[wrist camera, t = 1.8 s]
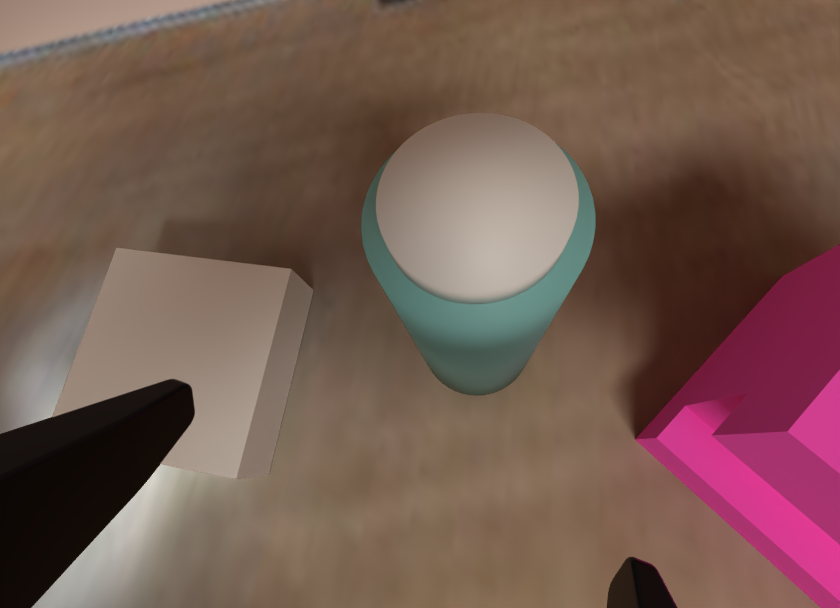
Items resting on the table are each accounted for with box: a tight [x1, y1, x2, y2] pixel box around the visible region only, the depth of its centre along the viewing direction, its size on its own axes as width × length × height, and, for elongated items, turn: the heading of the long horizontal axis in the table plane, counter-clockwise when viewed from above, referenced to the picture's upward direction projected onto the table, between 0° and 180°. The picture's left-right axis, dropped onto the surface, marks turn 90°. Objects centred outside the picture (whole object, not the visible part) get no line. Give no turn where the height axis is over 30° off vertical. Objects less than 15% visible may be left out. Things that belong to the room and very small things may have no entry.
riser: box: [52, 248, 314, 479], centre depth 22 cm, size 9×9×3 cm
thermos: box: [361, 113, 595, 395], centre depth 15 cm, size 5×5×13 cm
